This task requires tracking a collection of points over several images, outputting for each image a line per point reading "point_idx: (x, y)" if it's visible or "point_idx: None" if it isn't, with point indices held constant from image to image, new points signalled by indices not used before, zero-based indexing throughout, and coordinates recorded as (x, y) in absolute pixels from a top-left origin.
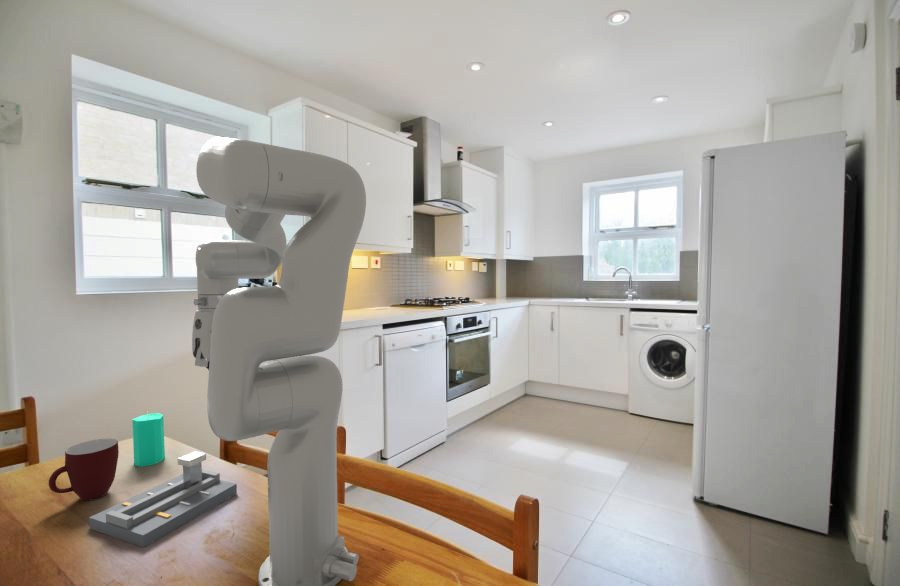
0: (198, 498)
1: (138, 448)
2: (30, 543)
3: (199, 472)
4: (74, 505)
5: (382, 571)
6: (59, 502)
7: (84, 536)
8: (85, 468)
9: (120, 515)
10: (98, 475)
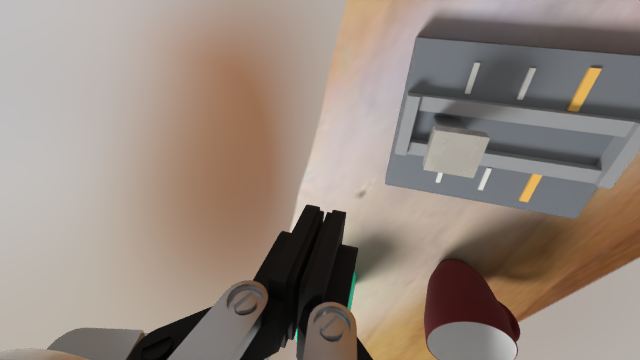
0: (497, 73)
1: (351, 299)
2: (606, 252)
3: (442, 125)
4: (484, 274)
5: None
6: None
7: (592, 196)
8: (503, 312)
9: (628, 154)
10: (482, 287)
